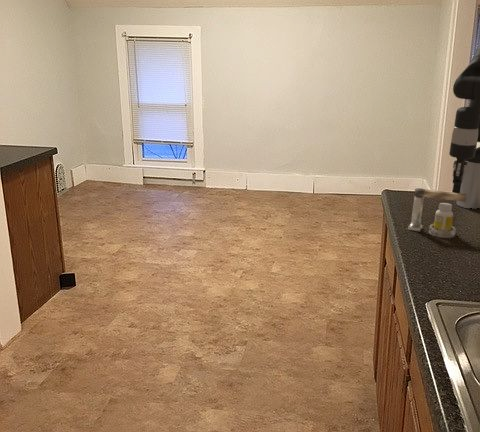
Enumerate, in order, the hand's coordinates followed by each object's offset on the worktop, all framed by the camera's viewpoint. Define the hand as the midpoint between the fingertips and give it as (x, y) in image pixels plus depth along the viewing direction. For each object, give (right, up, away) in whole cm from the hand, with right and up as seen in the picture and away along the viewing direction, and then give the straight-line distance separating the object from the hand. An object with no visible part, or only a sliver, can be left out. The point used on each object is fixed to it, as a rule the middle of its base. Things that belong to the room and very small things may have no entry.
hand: (455, 194), depth 181 cm
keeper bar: (-5, -1, 0) cm, 6 cm away
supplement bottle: (-4, -13, +2) cm, 14 cm away
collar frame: (-7, -12, +3) cm, 14 cm away
